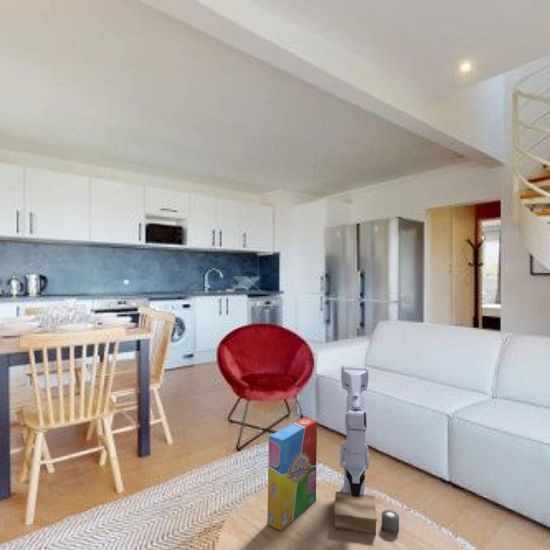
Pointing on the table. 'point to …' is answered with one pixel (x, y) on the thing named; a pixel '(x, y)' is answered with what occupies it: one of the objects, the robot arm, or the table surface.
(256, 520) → the table surface
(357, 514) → the lid
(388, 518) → the grey short cylinder
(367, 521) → the box
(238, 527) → the table surface
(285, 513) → the game box
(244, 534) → the table surface
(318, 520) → the table surface
